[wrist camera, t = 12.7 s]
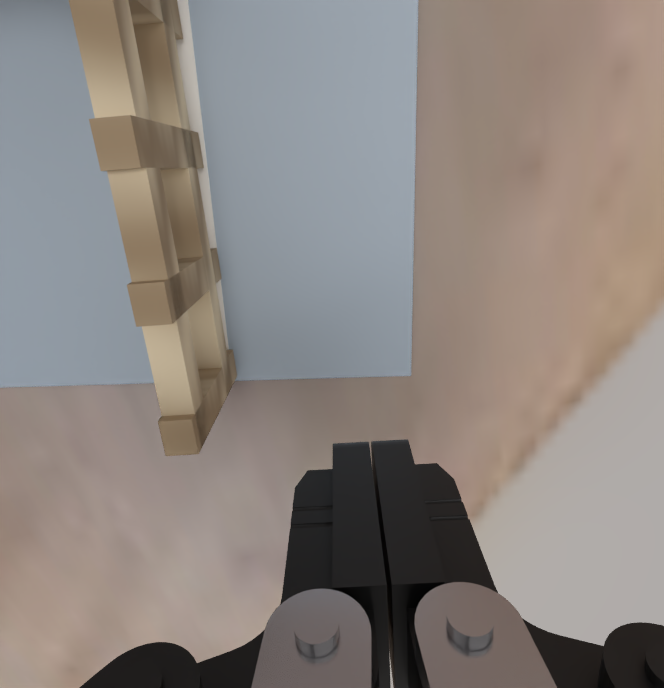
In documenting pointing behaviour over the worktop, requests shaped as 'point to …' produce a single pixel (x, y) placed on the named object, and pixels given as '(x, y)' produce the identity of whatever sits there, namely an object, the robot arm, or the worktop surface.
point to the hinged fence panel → (158, 207)
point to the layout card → (221, 192)
